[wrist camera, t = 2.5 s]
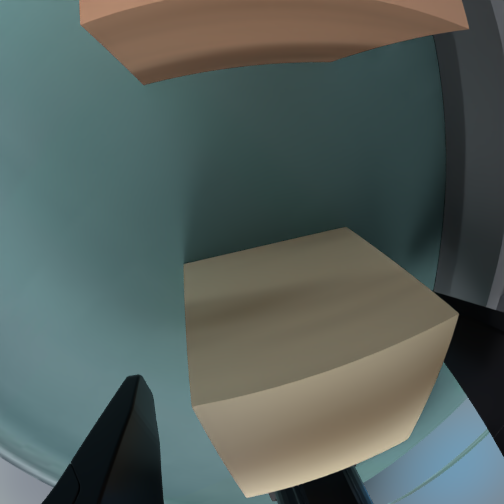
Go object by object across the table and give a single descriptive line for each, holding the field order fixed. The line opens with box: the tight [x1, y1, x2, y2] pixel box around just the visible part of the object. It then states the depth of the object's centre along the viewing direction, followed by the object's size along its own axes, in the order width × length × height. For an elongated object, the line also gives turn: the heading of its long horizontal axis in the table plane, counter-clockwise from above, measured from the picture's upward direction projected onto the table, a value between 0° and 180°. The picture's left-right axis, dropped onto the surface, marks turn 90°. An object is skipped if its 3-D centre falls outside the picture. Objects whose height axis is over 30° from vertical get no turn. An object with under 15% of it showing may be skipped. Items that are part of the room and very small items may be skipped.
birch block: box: [184, 227, 459, 498], centre depth 8 cm, size 5×5×5 cm
